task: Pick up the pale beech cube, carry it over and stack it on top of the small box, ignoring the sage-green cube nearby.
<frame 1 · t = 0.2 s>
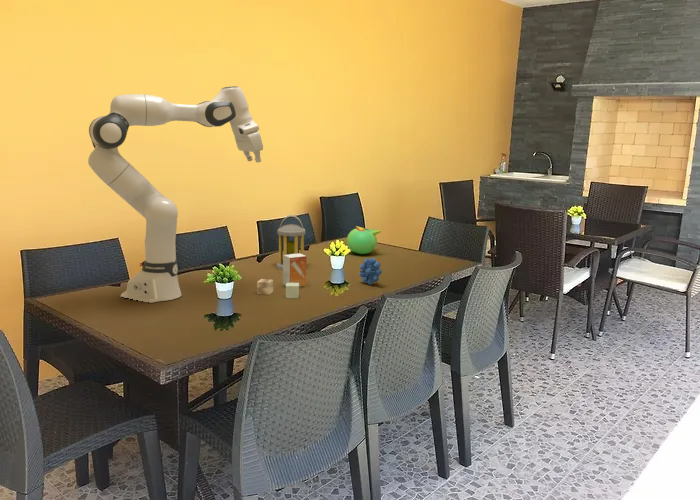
hand: (254, 161, 231), 51 cm above the table, tool tilted 20°, fingers open, 8 cm apart
small box: (294, 285, 244), on the table
beech cube: (265, 292, 232), on the table
lantern: (291, 267, 276), on the table
sage cube: (292, 296, 228), on the table
green round piece: (362, 253, 310), on the table
grapes: (371, 284, 249), on the table
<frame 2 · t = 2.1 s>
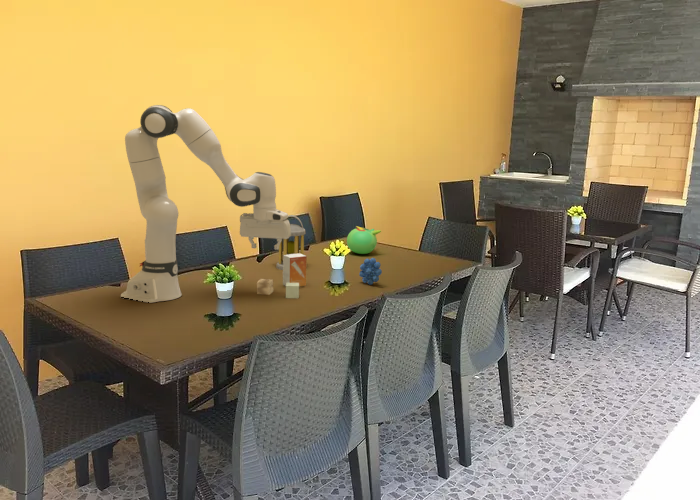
hand: (265, 248, 228), 18 cm above the table, tool pointing down, fingers open, 8 cm apart
nothing on the table moved.
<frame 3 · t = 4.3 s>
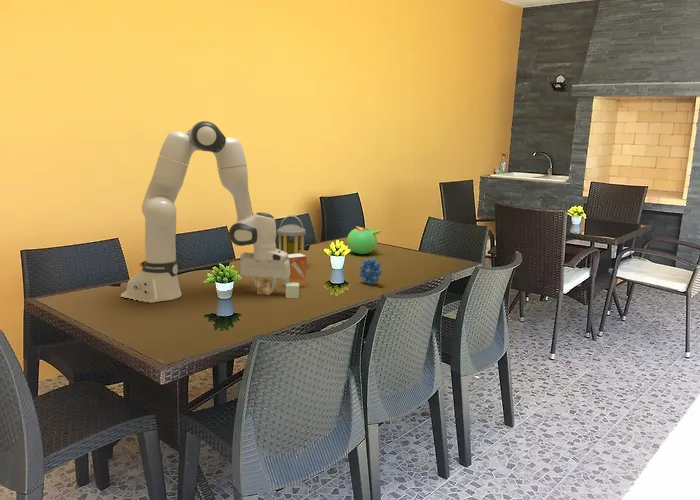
hand: (265, 287, 232), 2 cm above the table, tool pointing down, fingers closed on beech cube, 5 cm apart
beech cube: (265, 292, 232), on the table, touching gripper
everything else where it was.
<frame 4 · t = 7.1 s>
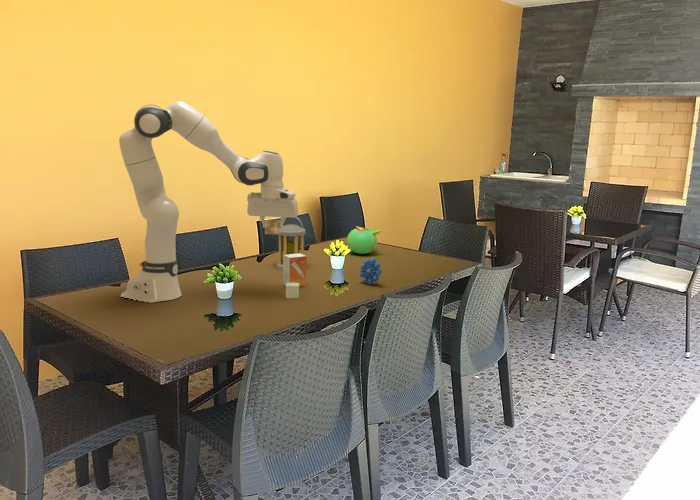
hand: (272, 227, 229), 26 cm above the table, tool pointing down, fingers closed on beech cube, 5 cm apart
beech cube: (273, 233, 230), point 24 cm above the table, touching gripper
everything else where it was.
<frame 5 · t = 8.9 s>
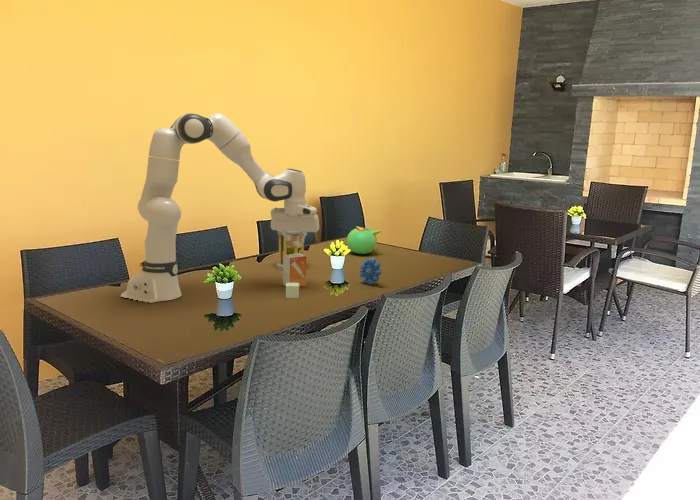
hand: (294, 241, 240), 19 cm above the table, tool pointing down, fingers closed on beech cube, 5 cm apart
beech cube: (294, 246, 241), point 17 cm above the table, touching gripper
everything else where it was.
when the fingers open (17 cm above the table, at t = 10.1 s): beech cube drops 1 cm, resting on small box.
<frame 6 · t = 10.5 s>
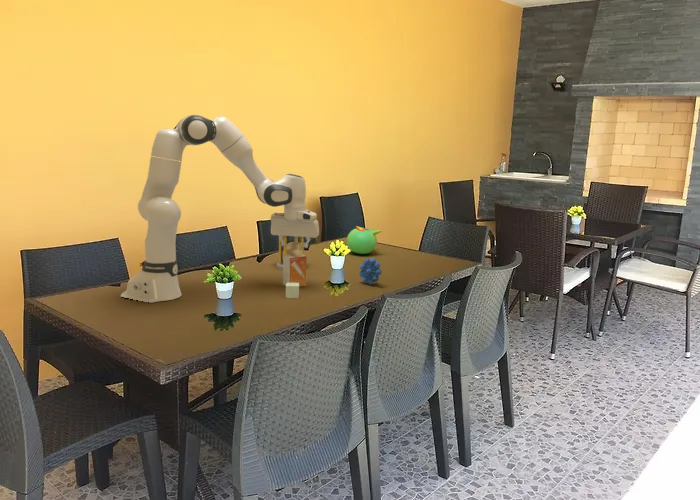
hand: (294, 246, 241), 17 cm above the table, tool pointing down, fingers open, 8 cm apart
small box: (294, 285, 244), on the table, touching beech cube
beech cube: (294, 255, 241), point 13 cm above the table, touching small box
everything else where it was.
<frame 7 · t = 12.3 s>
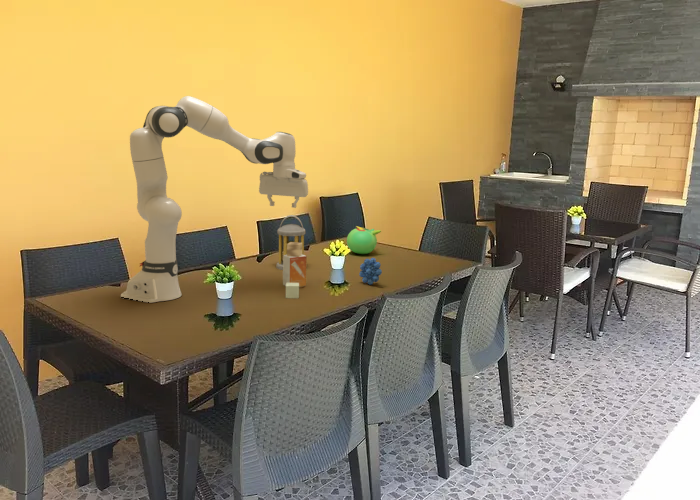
hand: (283, 206, 238), 33 cm above the table, tool pointing down, fingers open, 8 cm apart
nothing on the table moved.
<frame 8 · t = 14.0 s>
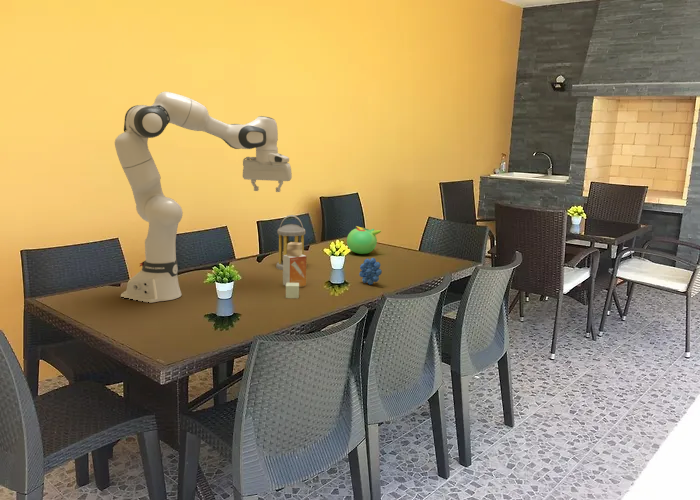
hand: (267, 191, 238), 39 cm above the table, tool pointing down, fingers open, 8 cm apart
nothing on the table moved.
at the end: beech cube inside the target area on the small box (0.0 cm from its centre), point 13.2 cm above the small box's base; small box tilted 0°; the gripper is holding nothing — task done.
